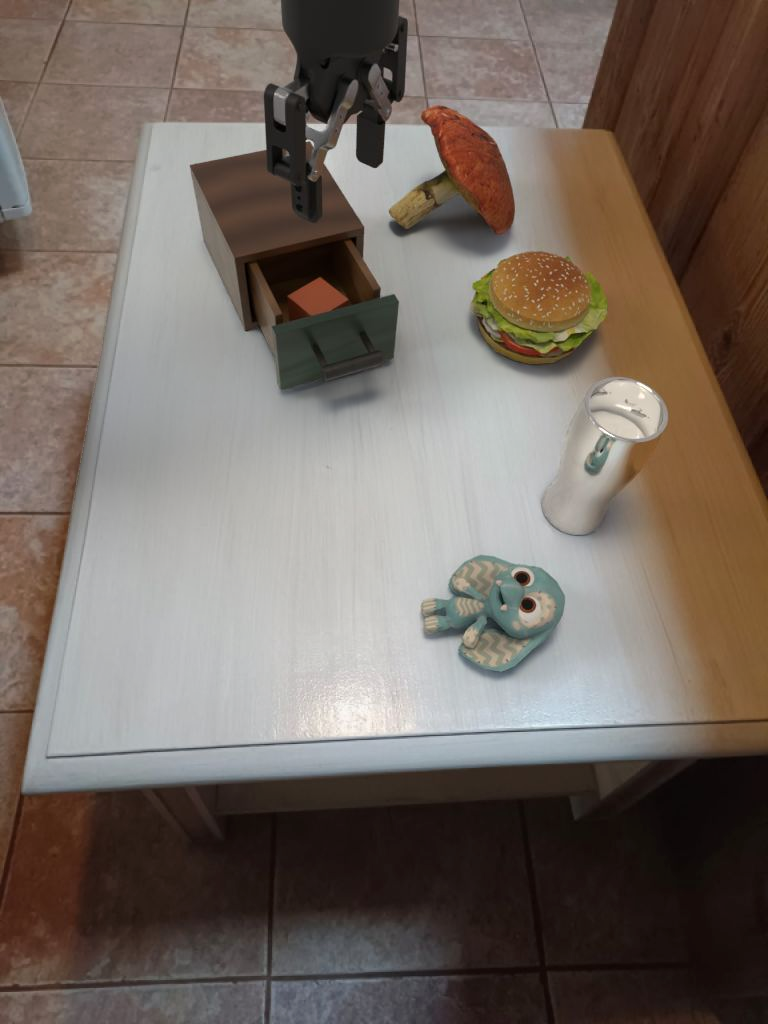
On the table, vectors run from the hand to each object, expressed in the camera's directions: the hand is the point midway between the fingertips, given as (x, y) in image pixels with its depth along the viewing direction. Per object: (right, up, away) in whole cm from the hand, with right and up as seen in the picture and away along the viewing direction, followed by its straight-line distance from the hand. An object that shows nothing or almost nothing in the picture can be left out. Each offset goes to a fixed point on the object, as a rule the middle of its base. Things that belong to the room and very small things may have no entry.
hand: (339, 189), depth 57 cm
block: (-3, -6, +20) cm, 21 cm away
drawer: (-3, -7, +20) cm, 22 cm away
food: (+20, -5, +24) cm, 32 cm away
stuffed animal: (+13, -35, +6) cm, 38 cm away
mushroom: (+11, +14, +29) cm, 34 cm away
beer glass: (+22, -25, +12) cm, 35 cm away
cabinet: (-8, +3, +27) cm, 28 cm away
